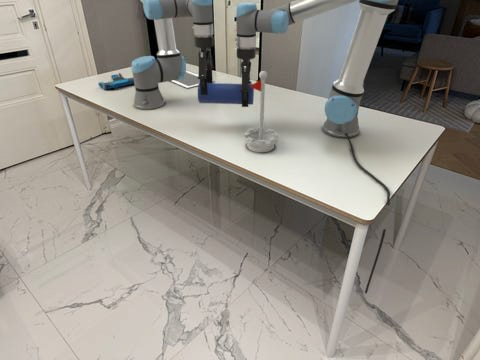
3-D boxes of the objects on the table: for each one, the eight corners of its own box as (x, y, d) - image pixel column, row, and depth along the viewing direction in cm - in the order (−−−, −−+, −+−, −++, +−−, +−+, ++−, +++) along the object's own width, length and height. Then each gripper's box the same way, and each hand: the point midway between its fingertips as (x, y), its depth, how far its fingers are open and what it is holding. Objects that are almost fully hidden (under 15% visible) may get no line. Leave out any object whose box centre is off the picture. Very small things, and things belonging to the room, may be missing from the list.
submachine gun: (142, 67, 226) (160, 73, 209) (143, 73, 228) (161, 80, 211) (90, 77, 207) (106, 85, 191) (92, 83, 209) (108, 91, 193)
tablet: (159, 76, 219) (159, 75, 219) (186, 70, 230) (186, 70, 230) (187, 88, 199) (187, 87, 198) (214, 81, 210) (214, 80, 210)
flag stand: (268, 136, 145) (271, 64, 128) (282, 150, 134) (288, 73, 118) (239, 141, 141) (239, 68, 124) (252, 155, 130) (253, 77, 114)
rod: (253, 100, 149) (254, 81, 145) (252, 107, 142) (252, 87, 137) (202, 99, 151) (200, 80, 146) (198, 106, 144) (197, 86, 139)
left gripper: (200, 30, 143) (203, 80, 154) (187, 41, 122) (192, 99, 133) (217, 30, 142) (219, 81, 154) (208, 42, 121) (211, 99, 133)
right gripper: (239, 41, 142) (239, 94, 155) (234, 53, 125) (234, 111, 137) (256, 42, 142) (255, 94, 154) (254, 53, 124) (253, 112, 136)
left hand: (207, 89), depth 144 cm, fingers open, 13 cm apart
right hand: (245, 102), depth 146 cm, fingers closed on rod, 8 cm apart
